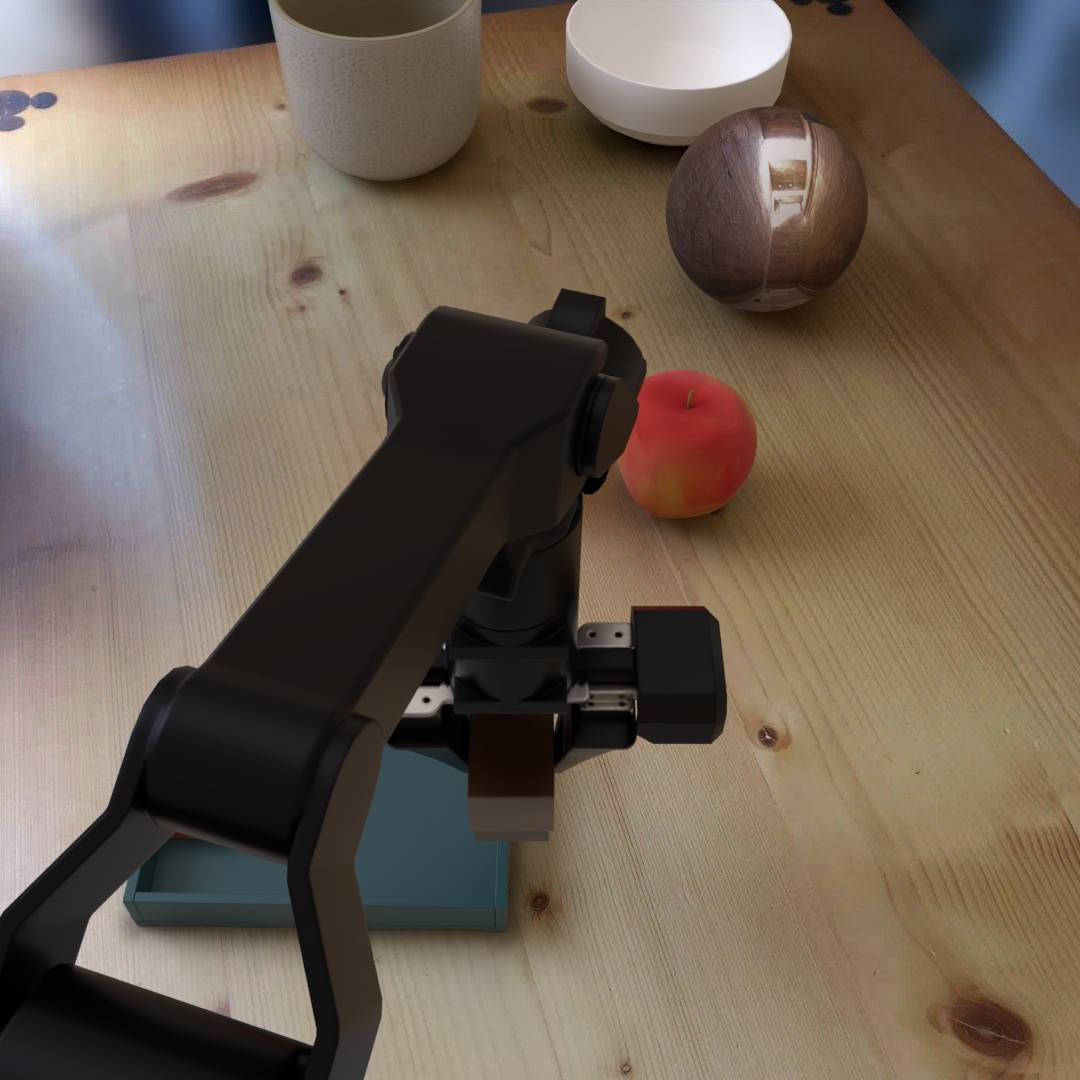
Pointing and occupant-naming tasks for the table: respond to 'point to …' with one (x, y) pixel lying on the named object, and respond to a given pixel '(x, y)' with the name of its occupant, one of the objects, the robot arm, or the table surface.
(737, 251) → the wooden sphere
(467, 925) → the tray
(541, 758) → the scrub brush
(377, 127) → the planter
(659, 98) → the bowl
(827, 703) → the table surface
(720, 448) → the apple
